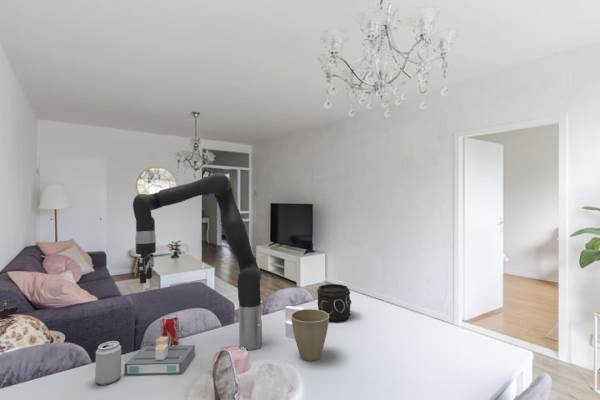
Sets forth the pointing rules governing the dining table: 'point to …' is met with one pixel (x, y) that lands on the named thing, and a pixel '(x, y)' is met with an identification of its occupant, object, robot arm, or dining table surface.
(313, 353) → the plant pot
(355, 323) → the dining table surface
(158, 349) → the slider
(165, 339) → the slider
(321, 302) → the dark brown cylinder
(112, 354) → the can
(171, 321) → the soda can
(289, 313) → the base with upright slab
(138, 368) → the console
